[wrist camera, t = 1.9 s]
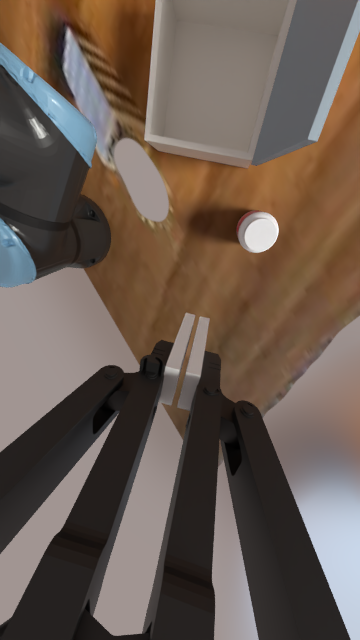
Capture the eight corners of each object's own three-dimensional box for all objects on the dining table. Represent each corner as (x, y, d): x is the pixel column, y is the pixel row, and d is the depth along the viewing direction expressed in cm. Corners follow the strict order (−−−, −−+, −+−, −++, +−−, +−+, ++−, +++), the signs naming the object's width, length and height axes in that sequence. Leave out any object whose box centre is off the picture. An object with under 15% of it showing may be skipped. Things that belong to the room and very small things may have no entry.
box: (158, 151, 40) (144, 140, 33) (173, 15, 32) (158, -37, 25) (247, 168, 39) (252, 160, 32) (285, 31, 31) (302, -19, 24)
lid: (307, 139, 17) (331, 144, 17) (498, -386, 9) (541, -366, 9) (251, 164, 32) (264, 167, 32) (304, -29, 23) (322, -24, 24)
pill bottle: (229, 231, 44) (230, 239, 34) (252, 202, 41) (260, 202, 31) (253, 251, 45) (260, 264, 35) (277, 225, 42) (292, 231, 32)
